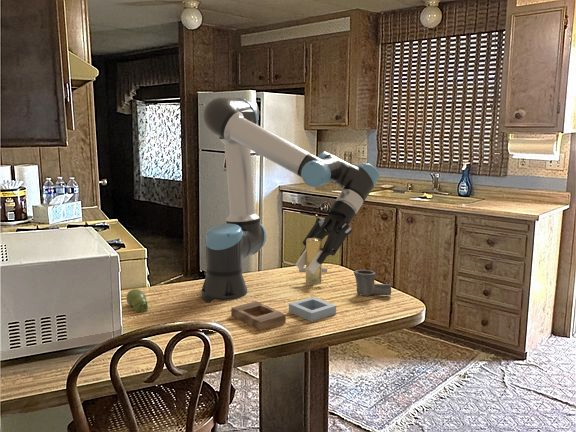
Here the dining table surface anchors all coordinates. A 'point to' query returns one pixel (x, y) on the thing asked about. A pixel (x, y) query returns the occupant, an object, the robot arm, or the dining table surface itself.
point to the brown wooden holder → (258, 315)
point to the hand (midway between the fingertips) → (304, 269)
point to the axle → (311, 250)
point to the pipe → (370, 284)
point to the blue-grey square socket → (312, 309)
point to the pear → (137, 300)
